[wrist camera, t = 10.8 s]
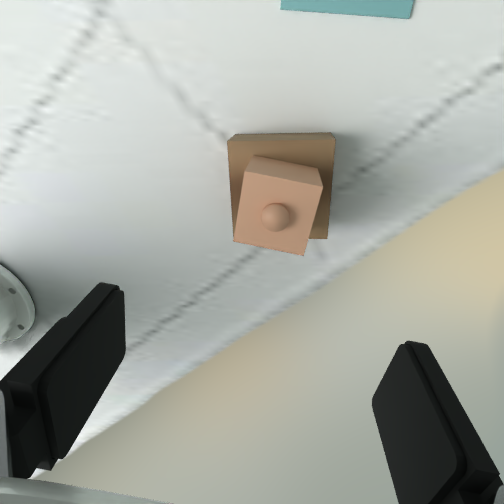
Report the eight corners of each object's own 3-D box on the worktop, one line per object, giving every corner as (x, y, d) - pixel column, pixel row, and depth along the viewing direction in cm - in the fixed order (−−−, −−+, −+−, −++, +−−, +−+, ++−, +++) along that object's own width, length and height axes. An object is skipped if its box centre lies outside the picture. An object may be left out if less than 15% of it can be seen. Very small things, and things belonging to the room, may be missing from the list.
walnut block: (323, 221, 30) (327, 239, 27) (240, 220, 31) (233, 237, 28) (330, 131, 27) (335, 139, 23) (235, 133, 28) (227, 141, 24)
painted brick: (301, 227, 27) (303, 259, 22) (242, 215, 27) (231, 245, 22) (317, 168, 24) (324, 189, 19) (253, 155, 24) (243, 173, 19)
